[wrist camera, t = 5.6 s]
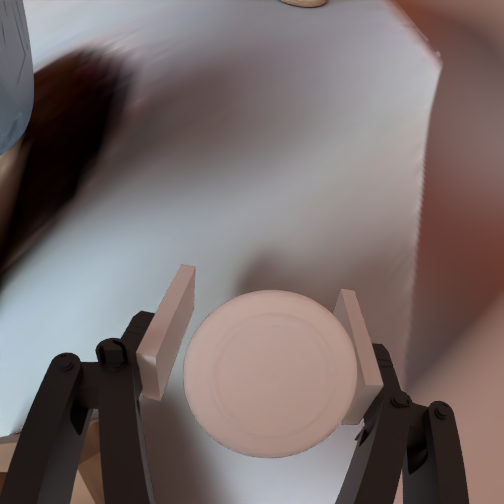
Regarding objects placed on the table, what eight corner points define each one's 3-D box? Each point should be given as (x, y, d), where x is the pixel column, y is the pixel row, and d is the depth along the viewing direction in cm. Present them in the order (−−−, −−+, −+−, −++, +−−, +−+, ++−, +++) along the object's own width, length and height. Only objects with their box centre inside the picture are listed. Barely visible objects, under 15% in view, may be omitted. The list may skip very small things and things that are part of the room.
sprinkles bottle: (292, 334, 21) (373, 301, 8) (280, 401, 19) (344, 468, 7) (223, 322, 21) (199, 270, 8) (210, 389, 19) (165, 444, 7)
